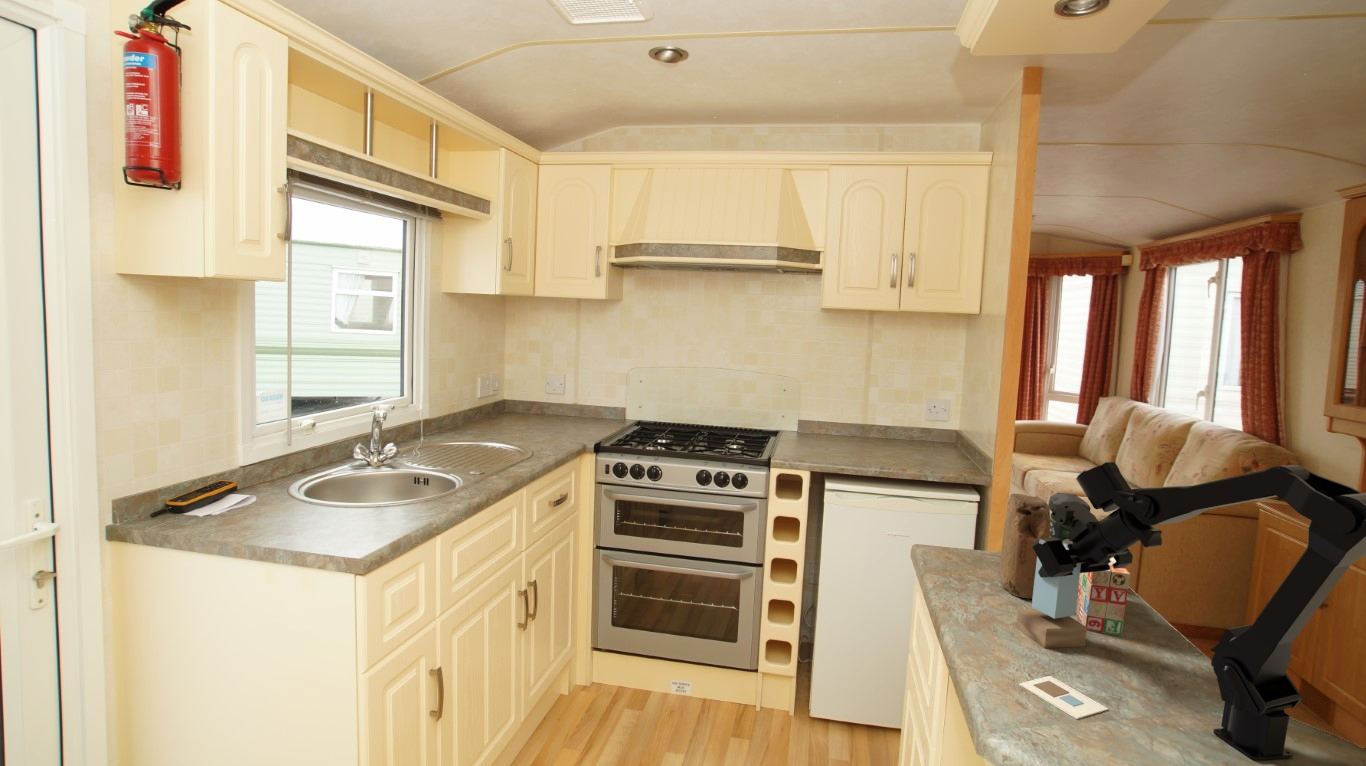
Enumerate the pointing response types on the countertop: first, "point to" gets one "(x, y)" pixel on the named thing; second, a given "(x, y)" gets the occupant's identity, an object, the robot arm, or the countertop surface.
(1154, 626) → the countertop surface
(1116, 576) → the stack of blocks
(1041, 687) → the page
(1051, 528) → the coffee jar
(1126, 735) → the countertop surface
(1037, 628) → the walnut base
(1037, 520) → the block
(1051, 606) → the blue brick
